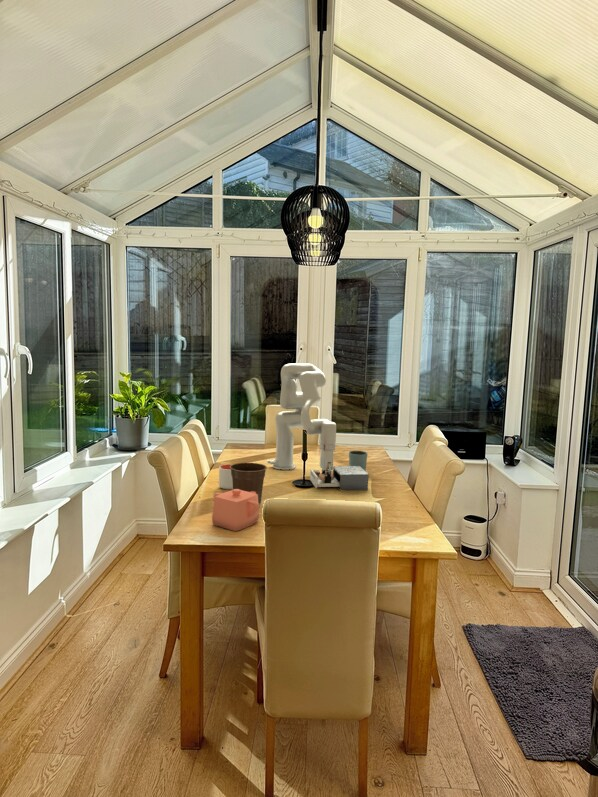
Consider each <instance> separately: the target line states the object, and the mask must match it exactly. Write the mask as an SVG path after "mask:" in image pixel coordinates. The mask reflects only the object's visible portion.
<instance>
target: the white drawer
mask: <svg viewBox="0 0 598 797" xmlns="http://www.w3.org/2000/svg"><path fill="white" fill-rule="evenodd" d="M309 470H310V471H309V480H310V482H311V483H312V485H313V486H314V488H315V489H318V488H321V487H322V488H326V487H328V488H329V487H333V488H337V487H340V483H339V482H338V480H337V479H335V477H333V480H332V481H331V483H325V481H322V480H320V479H319V478H318V476H317V475H316V474H315V472H314V471H313V469H312V468H310V469H309Z"/></svg>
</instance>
